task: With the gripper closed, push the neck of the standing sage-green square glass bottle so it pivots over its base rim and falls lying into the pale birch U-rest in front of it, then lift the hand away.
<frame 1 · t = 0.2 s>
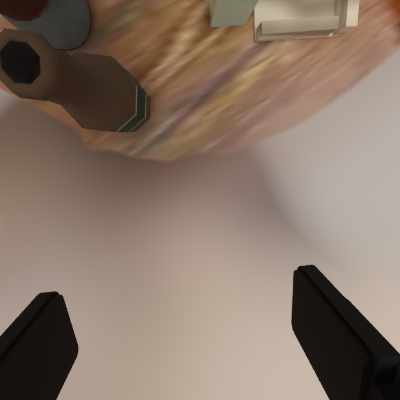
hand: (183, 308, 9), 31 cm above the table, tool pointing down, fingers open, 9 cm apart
cradle: (290, 0, 33), on the table
beer bottle: (127, 106, 36), on the table
bottle: (227, 5, 33), on the table
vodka: (61, 17, 32), on the table
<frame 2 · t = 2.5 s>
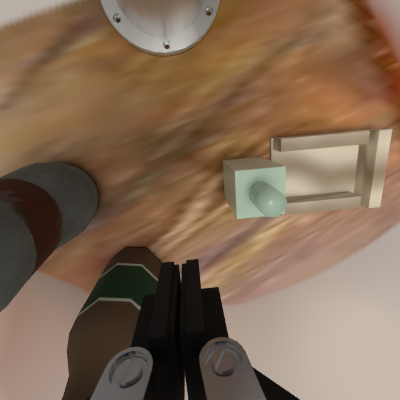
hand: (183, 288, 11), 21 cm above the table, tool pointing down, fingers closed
cradle: (308, 171, 31), on the table
beer bottle: (137, 267, 34), on the table
bottle: (242, 177, 31), on the table
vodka: (68, 193, 30), on the table
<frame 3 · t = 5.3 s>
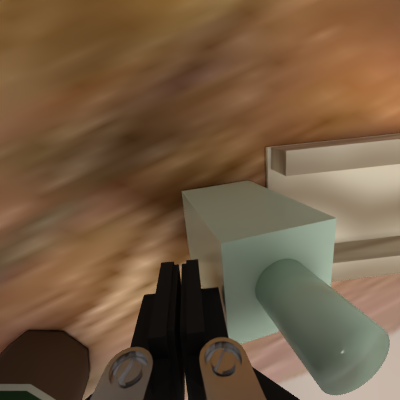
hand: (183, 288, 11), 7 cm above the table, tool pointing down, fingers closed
cradle: (333, 203, 18), on the table
beer bottle: (51, 358, 21), on the table
bottle: (218, 218, 17), on the table, tilted 11°
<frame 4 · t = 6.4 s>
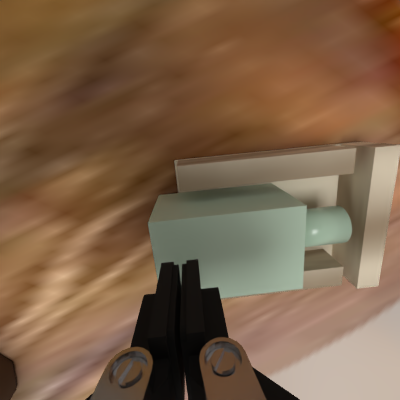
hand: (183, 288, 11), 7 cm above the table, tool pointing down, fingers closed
cradle: (251, 216, 18), on the table
bottle: (160, 243, 15), point 3 cm above the table, tilted 90°, touching cradle
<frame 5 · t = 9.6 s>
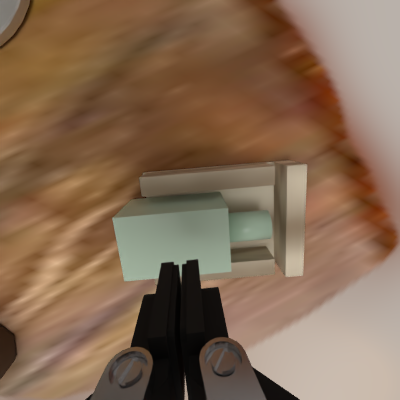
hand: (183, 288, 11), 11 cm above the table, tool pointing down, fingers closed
cradle: (206, 217, 22), on the table
bottle: (128, 236, 19), point 3 cm above the table, tilted 90°, touching cradle
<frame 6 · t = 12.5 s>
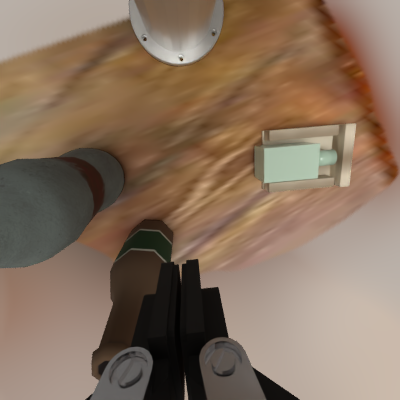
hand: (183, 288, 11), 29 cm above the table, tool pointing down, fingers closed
cradle: (293, 157, 39), on the table
beer bottle: (153, 237, 42), on the table
bottle: (259, 163, 36), point 3 cm above the table, tilted 90°, touching cradle
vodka: (99, 175, 38), on the table
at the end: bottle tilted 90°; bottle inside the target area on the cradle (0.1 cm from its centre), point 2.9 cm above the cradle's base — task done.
